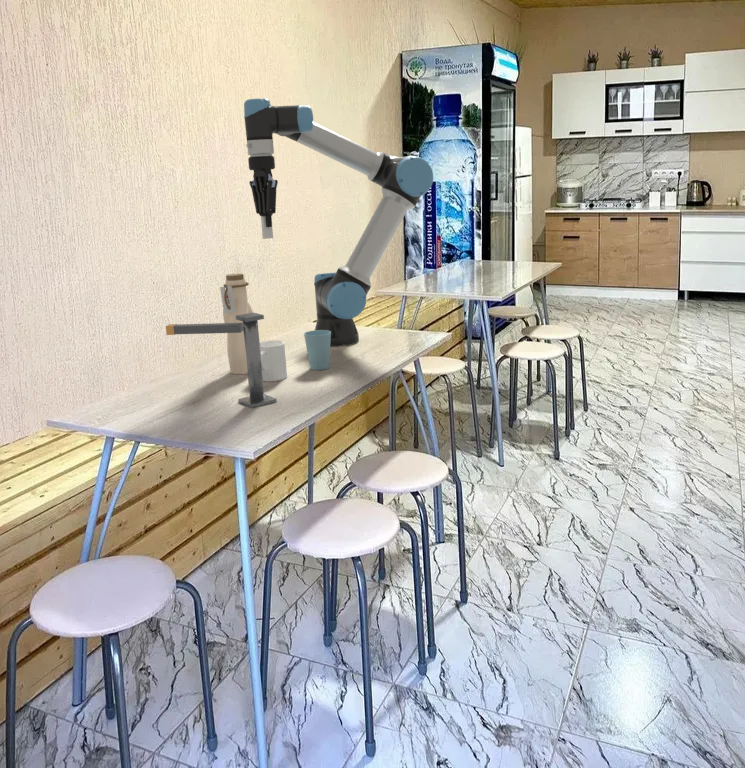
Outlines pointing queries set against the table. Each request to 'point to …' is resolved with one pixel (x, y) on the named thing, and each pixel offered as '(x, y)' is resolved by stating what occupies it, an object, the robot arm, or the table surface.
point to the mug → (273, 360)
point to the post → (253, 361)
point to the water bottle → (232, 306)
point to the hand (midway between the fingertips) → (267, 238)
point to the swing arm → (204, 328)
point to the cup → (318, 348)
